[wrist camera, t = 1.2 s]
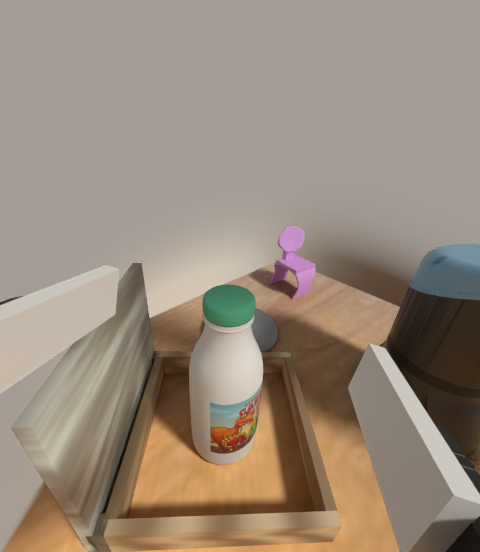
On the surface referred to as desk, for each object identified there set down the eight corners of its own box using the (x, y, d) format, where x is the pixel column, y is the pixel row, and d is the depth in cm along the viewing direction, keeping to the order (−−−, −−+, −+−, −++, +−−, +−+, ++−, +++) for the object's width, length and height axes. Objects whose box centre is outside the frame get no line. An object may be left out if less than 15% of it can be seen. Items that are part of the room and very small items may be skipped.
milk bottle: (184, 463, 28) (170, 318, 19) (200, 400, 35) (196, 271, 26) (253, 472, 28) (275, 330, 18) (256, 407, 35) (273, 278, 25)
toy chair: (290, 301, 58) (301, 239, 51) (265, 285, 64) (272, 227, 57) (314, 291, 62) (327, 233, 55) (288, 277, 69) (297, 222, 62)
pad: (271, 309, 55) (271, 306, 55) (284, 358, 43) (285, 355, 42) (205, 308, 54) (205, 305, 54) (199, 358, 42) (199, 354, 41)
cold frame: (286, 368, 41) (306, 267, 32) (332, 541, 23) (402, 422, 15) (149, 368, 39) (133, 262, 31) (88, 552, 22) (10, 427, 13)
